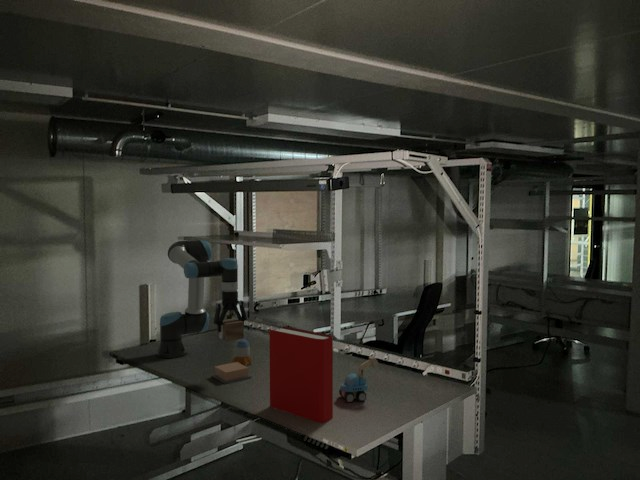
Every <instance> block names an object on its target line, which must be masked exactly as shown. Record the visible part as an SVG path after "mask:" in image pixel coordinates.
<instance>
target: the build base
mask: <svg viewBox="0 0 640 480" xmlns="http://www.w3.org/2000/svg"><path fill="white" fill-rule="evenodd" d="M249 370H250V369H249V367H248V366H247V367H246V366H244V365H242V364H240V363H239V362H238V361H237V362H234V363H232V362H231V363H225V364H220V365H215V366H214V373H212V374H211V376H212V378H214V379H216V380H217V381H220V382H221V383H222V384H224V385H227V384H230V383H232V384H233V383H235V382H240V381H246V380H250V379H252V375H250V373H249V372H250V371H249Z"/></svg>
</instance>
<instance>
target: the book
mask: <svg viewBox="0 0 640 480" xmlns="http://www.w3.org/2000/svg"><path fill="white" fill-rule="evenodd" d="M333 338H334V336H333V335H331V334H327V333H321V332H316V331H312V330H307V329H301V328H296V327H290V326H289V327H288V326H284V325H282V328H280V329H276V330H273V329H269V407H270V408H273V409H277V410H279V411H283V412H285V413H289V414H291V415H295V416H298V417H300V418H304V419H306V420H310V421H312V422H315V423H319V424H324V423H326V422H328V421H330V420H332V419H333V418H334V415H333V411H334V410H333V405H334V404H333V403H334V401H333V397H334V396H333V395H334V394H333V393H334V391H333V390H334V389H333V385H334V383H333V380H334V378H333V376H334V375H333V374H334V373H333V370H334V369H333V368H334V365H333V358H334V357H333V355H334V354H333V350H334V348H333V345H334V343H333V342H334V341H333Z"/></svg>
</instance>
